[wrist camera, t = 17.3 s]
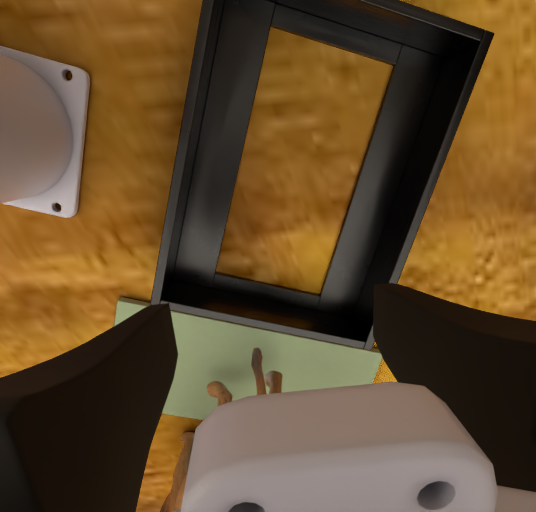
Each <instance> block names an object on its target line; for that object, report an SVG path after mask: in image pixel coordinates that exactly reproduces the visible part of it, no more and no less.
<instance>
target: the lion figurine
mask: <svg viewBox="0 0 536 512" xmlns="http://www.w3.org/2000/svg"><path fill="white" fill-rule="evenodd" d="M262 359H263V356H262V352H261V350H260V348H254V349H253V353H252V362H251V367H252V369H253V372H254V375H255V380H256V388H257V395H264V394H266V387H265V384H266V385H267V386H268V387H269V388H270V389H269V394H274V393H282V378H283V375H282V373H280V372H278V371H269V372H268V373H266V375H265V377H264V375H263V371H262ZM207 392H208V394H209V395H210V396H211V397H215V398H218V405H217V406H220V405H223V404H226V403H229V402H232V398H233V395H232V394H231V393H230V392H229V390H228V389H227V387H226V386H225V385H224V383H222V382H220V381H212V382H210V383H209V384H208V385H207ZM194 435H195V433H193V432H185V433H183V434H182V435H181V438H180V439H181V441H182V442H183V443H184V447H183V449H182V452H181V454H180V457H179V460H178V463H177V465H176V468H175V471H174V475H173V485H172V489H171V492H170V493H169V495H168V496H167V498H166V500H165V501H164V503H163V505H162V508H161V510H160V512H173V511H176V510H178V509H181V506H182V500H183V494H184V489H185V483H186V478H187V473H188V467H189V462H190V457H191V451H192V446H193V441H194Z"/></svg>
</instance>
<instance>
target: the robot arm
mask: <svg viewBox="0 0 536 512" xmlns="http://www.w3.org/2000/svg"><path fill="white" fill-rule="evenodd" d="M68 71H71V73H72V76H73V77H72V79H71V80H70V81H68V80H67V79H66V73H67V72H68ZM89 90H90V77H89V75H88V73H87V72H86V71H85V70H83V69H81V68H78V67H75V66H71V65H68V64H64V63H61V62H57V61H53V60H50V59H46V58H43V57H39V56H36V55H32V54H28V53H25V52H21V51H18V50H14V49H11V48H7V47H3V46H0V203H2V204H6V205H11V206H15V207H20V208H24V209H28V210H33V211H37V212H42V213H46V214H51V215H55V216H59V217H64V218H70V217H73V216H75V215H76V214H77V211H78V202H79V192H80V182H81V172H82V161H83V151H84V141H85V131H86V121H87V110H88V100H89ZM56 203H58V204H60V206H61V211H59V210H57V209H56V206H55V205H56ZM373 337H374V340H375V342H376V344H377V347H378V349H379V351H380V353H381V355H382V357H383V359H384V361H385V362H386V364H387V366H388V367H389V369H390V370H391V372H392V373H393V375H394V377H395V378H396V380H397V381H398V382H384V383H374V384H364V385H354V386H344V387H334V388H324V389H314V390H304V391H294V392H284V393H274V394H264V395H254V396H247V397H244V398H241V399H238V400H235V401H232V402H229V403H226V404H223V405H220V406H217V407H216V408H215V409H214V410H213V411H212V412H211V413H210V414H209V415H208V416H207V417H206V418H205V419H204V420H203V421H202V422H201V424H200V425H199V426H198V427H197V428H196V430H195V435H194V441H193V446H192V451H191V457H190V462H189V467H188V473H187V478H186V483H185V489H184V494H183V500H182V506H181V509H178V510H176V511H173V512H536V321H531V320H525V319H518V318H513V317H508V316H503V315H498V314H494V313H489V312H485V311H481V310H477V309H473V308H469V307H466V306H463V305H459V304H456V303H453V302H449V301H446V300H443V299H440V298H437V297H434V296H432V295H429V294H426V293H423V292H420V291H417V290H414V289H412V288H409V287H405V286H402V285H399V284H394V283H386V284H375V285H374V308H373ZM177 359H178V350H177V344H176V339H175V333H174V328H173V322H172V316H171V311H170V305H169V303H166V304H155V305H150V306H147V307H145V308H144V309H142V310H140V311H138V312H137V313H135V314H133V315H132V316H130V317H129V318H127V319H125V320H124V321H122V322H120V323H119V324H117V325H116V326H114V327H112V328H111V329H109V330H107V331H105V332H104V333H102V334H100V335H98V336H97V337H95V338H93V339H91V340H90V341H88V342H86V343H84V344H82V345H80V346H78V347H76V348H74V349H72V350H70V351H68V352H66V353H64V354H62V355H59V356H57V357H55V358H53V359H50V360H48V361H45V362H42V363H40V364H37V365H35V366H32V367H30V368H27V369H24V370H22V371H19V372H16V373H14V374H11V375H8V376H5V377H1V378H0V512H136V507H137V502H138V498H139V493H140V488H141V483H142V479H143V475H144V471H145V466H146V462H147V458H148V454H149V450H150V446H151V443H152V440H153V436H154V434H155V431H156V428H157V425H158V422H159V420H160V417H161V414H162V411H163V408H164V405H165V403H166V400H167V397H168V394H169V391H170V388H171V385H172V382H173V379H174V375H175V370H176V364H177Z"/></svg>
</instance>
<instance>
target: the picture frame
mask: <svg viewBox="0 0 536 512" xmlns="http://www.w3.org/2000/svg"><path fill="white" fill-rule="evenodd" d="M270 26H271V27H273V28H276V29H280V30H283V31H286V32H289V33H292V34H295V35H299V36H302V37H305V38H308V39H311V40H314V41H318V42H321V43H324V44H327V45H330V46H333V47H337V48H340V49H343V50H346V51H349V52H352V53H356V54H359V55H362V56H365V57H368V58H371V59H375V60H378V61H381V62H384V63H387V64H390V65H394V68H393V71H392V74H391V77H390V80H389V83H388V86H387V89H386V92H385V95H384V98H383V102H382V105H381V108H380V111H379V114H378V117H377V120H376V123H375V126H374V129H373V132H372V136H371V139H370V142H369V145H368V148H367V151H366V154H365V157H364V160H363V163H362V166H361V170H360V173H359V176H358V179H357V182H356V185H355V188H354V191H353V194H352V197H351V200H350V204H349V207H348V210H347V213H346V216H345V219H344V222H343V225H342V228H341V231H340V234H339V237H338V241H337V244H336V247H335V250H334V253H333V256H332V259H331V262H330V265H329V268H328V271H327V275H326V278H325V281H324V284H323V287H322V290H321V293H320V295H317V294H312V293H307V292H303V291H298V290H294V289H289V288H285V287H280V286H275V285H271V284H266V283H262V282H257V281H253V280H248V279H243V278H239V277H234V276H230V275H225V274H220V273H216V272H215V271H216V266H217V262H218V258H219V253H220V249H221V244H222V240H223V235H224V231H225V226H226V222H227V218H228V213H229V209H230V204H231V200H232V195H233V191H234V186H235V182H236V177H237V173H238V169H239V164H240V160H241V155H242V151H243V146H244V142H245V137H246V133H247V129H248V124H249V120H250V115H251V111H252V106H253V102H254V97H255V93H256V89H257V84H258V80H259V75H260V71H261V66H262V62H263V57H264V53H265V48H266V44H267V40H268V35H269V31H270ZM493 36H494V33H493V32H490V31H487V30H484V29H481V28H478V27H475V26H472V25H469V24H466V23H463V22H460V21H458V20H455V19H452V18H449V17H446V16H443V15H440V14H437V13H434V12H431V11H428V10H425V9H422V8H420V7H417V6H414V5H411V4H408V3H405V2H402V1H399V0H203V1H202V7H201V13H200V19H199V25H198V30H197V36H196V42H195V48H194V54H193V59H192V65H191V71H190V77H189V83H188V88H187V94H186V100H185V106H184V112H183V117H182V123H181V129H180V135H179V141H178V146H177V152H176V158H175V164H174V170H173V175H172V181H171V187H170V193H169V199H168V204H167V210H166V216H165V222H164V228H163V233H162V239H161V245H160V251H159V257H158V262H157V268H156V274H155V280H154V286H153V291H152V297H151V303H150V305H155V304H166V303H169V305H170V310H173V311H178V312H183V313H188V314H193V315H198V316H203V317H208V318H213V319H218V320H223V321H228V322H233V323H238V324H243V325H248V326H253V327H257V328H262V329H267V330H272V331H277V332H282V333H287V334H292V335H297V336H302V337H307V338H312V339H317V340H322V341H327V342H332V343H337V344H342V345H347V346H352V347H357V348H362V349H363V348H364V349H367V350H371V349H372V347H373V344H374V342H375V340H374V337H373V308H374V285H375V284H386V283H394V284H397V283H398V280H399V278H400V275H401V272H402V270H403V267H404V265H405V262H406V260H407V257H408V254H409V252H410V249H411V247H412V244H413V242H414V239H415V236H416V234H417V231H418V229H419V226H420V224H421V221H422V218H423V216H424V213H425V211H426V208H427V206H428V203H429V200H430V198H431V195H432V193H433V190H434V188H435V185H436V182H437V180H438V177H439V175H440V172H441V170H442V167H443V165H444V162H445V159H446V157H447V154H448V152H449V149H450V147H451V144H452V141H453V139H454V136H455V134H456V131H457V129H458V126H459V123H460V121H461V118H462V116H463V113H464V111H465V108H466V105H467V103H468V100H469V98H470V95H471V93H472V90H473V87H474V85H475V82H476V80H477V77H478V75H479V72H480V69H481V67H482V64H483V62H484V59H485V57H486V54H487V52H488V49H489V46H490V44H491V41H492V39H493Z"/></svg>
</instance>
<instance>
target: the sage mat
mask: <svg viewBox="0 0 536 512" xmlns="http://www.w3.org/2000/svg"><path fill="white" fill-rule="evenodd" d="M147 306H150V303H148V302H143V301H138V300H133V299H128V298H123V297H121V298H120V299H119V300H118V302H117V309H116V316H115V323H114V326H116V325H117V324H119V323H120V322H122V321H124V320H125V319H127V318H129V317H130V316H132V315H133V314H135V313H137V312H138V311H140V310H142V309H144V308H145V307H147ZM170 311H171V316H172V322H173V328H174V333H175V339H176V344H177V350H178V359H177V364H176V370H175V375H174V379H173V382H172V385H171V388H170V391H169V394H168V397H167V400H166V403H165V405H164V408H163V411H162V414H168V415H174V416H180V417H187V418H193V419H199V420H204V419H205V418H206V417H207V416H208V415H209V414H210V413H211V412H212V411H213V410H214V409H215V408H216V407H217V405H218V398H215V397H211V396H210V395H209V394H208V392H207V385H208V384H209V383H210V382H212V381H220V382H222V383H224V385H225V386H226V387H227V389H228V390H229V392H230V393H231V394H232V395H233V398H232V401H235V400H238V399H241V398H244V397H247V396H254V395H257V388H256V380H255V375H254V372H253V369H252V367H251V362H252V353H253V349H254V348H260V350H261V352H262V356H263V359H262V371H263V375H264V377H265V375H266V373H268V372H269V371H278V372H280V373H282V375H283V378H282V393H284V392H294V391H304V390H314V389H324V388H334V387H344V386H354V385H364V384H372V383H373V380H374V378H375V375H376V373H377V370H378V368H379V365H380V363H381V360H382V358H383V357H382V355H381V353H380V351H379V349H376V348H372V349H371V350H367V349H364V348H363V349H362V348H357V347H352V346H347V345H342V344H337V343H332V342H327V341H322V340H317V339H312V338H307V337H302V336H297V335H292V334H287V333H282V332H277V331H272V330H267V329H262V328H257V327H253V326H248V325H243V324H238V323H233V322H228V321H223V320H218V319H213V318H208V317H203V316H198V315H193V314H188V313H183V312H178V311H173V310H170ZM265 387H266V394H269V389H270V388H269V387H268V386H267V385H266V384H265Z"/></svg>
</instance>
